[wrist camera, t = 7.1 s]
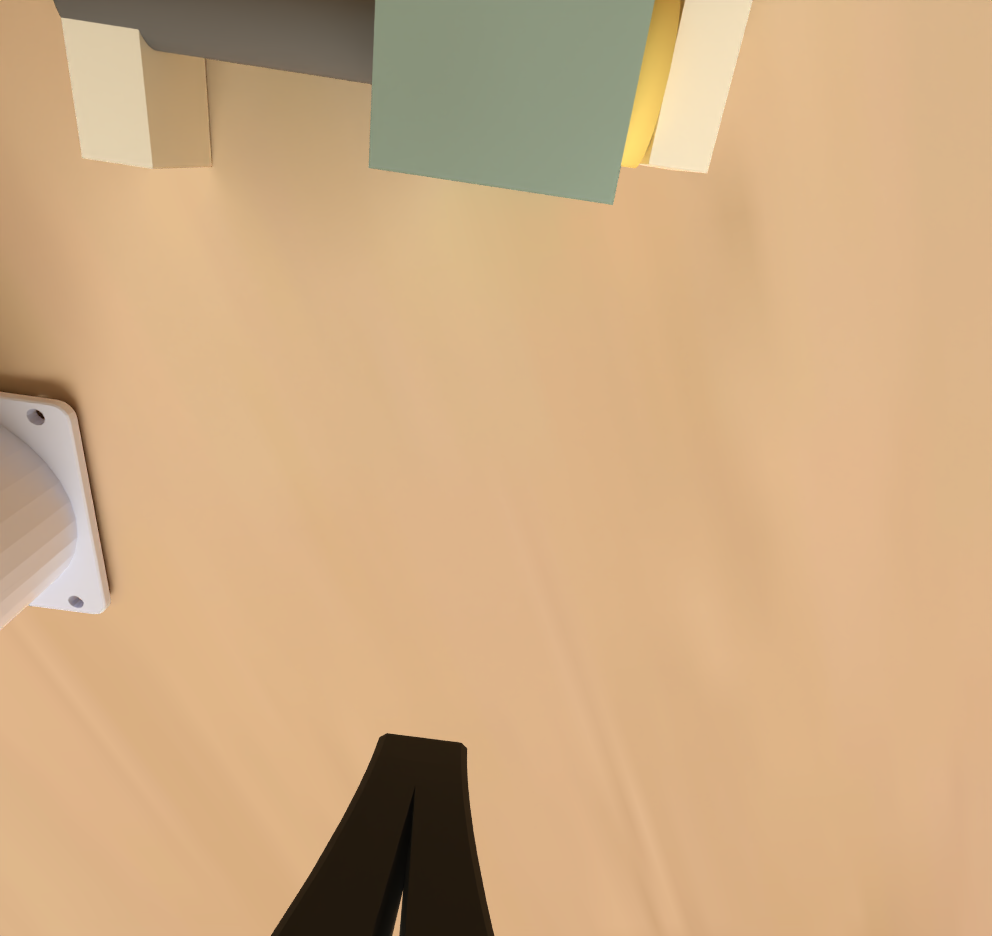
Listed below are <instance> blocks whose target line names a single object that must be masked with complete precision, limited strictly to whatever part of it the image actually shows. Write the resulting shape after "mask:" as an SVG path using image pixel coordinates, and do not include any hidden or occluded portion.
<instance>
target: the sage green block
mask: <svg viewBox="0 0 992 936" xmlns="http://www.w3.org/2000/svg"><path fill="white" fill-rule="evenodd" d="M654 2H655V0H375V20H374V46H373V72H372V98H371V124H370V150H369V168H373V169H380V170H386V171H393V172H399V173H406V174H413V175H419V176H426V177H432V178H439V179H446V180H452V181H459V182H466V183H472V184H479V185H485V186H492V187H499V188H505V189H512V190H518V191H525V192H532V193H538V194H545V195H551V196H558V197H565V198H571V199H578V200H584V201H591V202H598V203H604V204H611V205H613V202H614V197H615V192H616V187H617V182H618V178H619V173H620V168H621V163H622V158H623V153H624V148H625V143H626V138H627V134H628V129H629V124H630V119H631V114H632V109H633V104H634V99H635V95H636V90H637V85H638V80H639V75H640V70H641V65H642V60H643V55H644V51H645V46H646V41H647V36H648V31H649V26H650V21H651V16H652V12H653V7H654Z"/></svg>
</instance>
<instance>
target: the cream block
mask: <svg viewBox="0 0 992 936" xmlns="http://www.w3.org/2000/svg"><path fill="white" fill-rule="evenodd" d="M752 1H753V0H680V14H679V23H678V30H677V36H676V42H675V48H674V53H673V58H672V63H671V68H670V73H669V77H668V81H667V85H666V89H665V93H664V97H663V101H662V105H661V108H660V112H659V115H658V119H657V122H656V125H655V128H654V131H653V134H652V137H651V140H650V143H649V145H648V148H647V150H646V152H645V155H644V157H643V159H642V161H641V162H640V164H639V165H643V166H649V167H656V168H662V169H669V170H677V171H688V172H699V173H707V172H708V168H709V164H710V161H711V157H712V153H713V149H714V145H715V142H716V138H717V134H718V130H719V126H720V123H721V119H722V115H723V111H724V107H725V104H726V100H727V96H728V92H729V88H730V85H731V81H732V77H733V73H734V69H735V66H736V62H737V58H738V54H739V50H740V47H741V43H742V39H743V35H744V31H745V28H746V24H747V20H748V16H749V12H750V9H751V5H752Z"/></svg>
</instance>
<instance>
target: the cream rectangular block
mask: <svg viewBox="0 0 992 936" xmlns="http://www.w3.org/2000/svg"><path fill="white" fill-rule="evenodd" d="M61 21H62V27H63V34H64V41H65V47H66V54H67V60H68V67H69V74H70V80H71V87H72V94H73V100H74V107H75V114H76V120H77V127H78V134H79V140H80V147H81V154H82V158H84V159H91V160H97V161H104V162H111V163H117V164H124V165H131V166H137V167H144V168H151V169H163V168H193V167H212V160H211V145H210V130H209V114H208V99H207V84H206V68H205V58H200V57H193V56H187V55H180V54H174V53H167V52H161V51H156V50H153V49H152V48H151V47H150V46H149V45H148V44H147V43H146V42H145V40H144V39H143V37H142V36H141V34H140V32H139V30H138V29H132V28H126V27H119V26H113V25H106V24H100V23H94V22H87V21H81V20H74V19H68V18H61Z"/></svg>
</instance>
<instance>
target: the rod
mask: <svg viewBox="0 0 992 936" xmlns="http://www.w3.org/2000/svg"><path fill="white" fill-rule="evenodd" d="M54 3H55V6H56V8H57V10H58V13H59V15H60V16H61V18H68V19H74V20H81V21H87V22H94V23H100V24H106V25H113V26H119V27H126V28H132V29H138V30H139V32H140V34H141V36H142V37H143V39H144V40H145V42H146V43H147V44H148V45H149V46H150V47H151V48H152V49H153V50H156V51H161V52H167V53H174V54H180V55H187V56H193V57H200V58H206V59H213V60H219V61H226V62H232V63H238V64H245V65H251V66H258V67H264V68H271V69H277V70H284V71H290V72H297V73H303V74H309V75H316V76H322V77H329V78H335V79H342V80H348V81H355V82H361V83H368V84H372V72H373V46H374V20H375V0H54ZM679 14H680V0H655V2H654V7H653V12H652V16H651V21H650V26H649V31H648V36H647V41H646V46H645V51H644V55H643V60H642V65H641V70H640V75H639V80H638V85H637V90H636V95H635V99H634V104H633V109H632V114H631V119H630V124H629V129H628V134H627V138H626V143H625V148H624V153H623V158H622V163H621V166H624V167H630V168H636V167H637V166H638V165H639V164H640V162H641V161H642V159H643V157H644V155H645V152H646V150H647V148H648V145H649V143H650V140H651V137H652V134H653V131H654V128H655V125H656V122H657V119H658V115H659V112H660V108H661V105H662V101H663V97H664V93H665V89H666V85H667V81H668V77H669V73H670V68H671V63H672V58H673V53H674V48H675V42H676V36H677V30H678V23H679Z"/></svg>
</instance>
